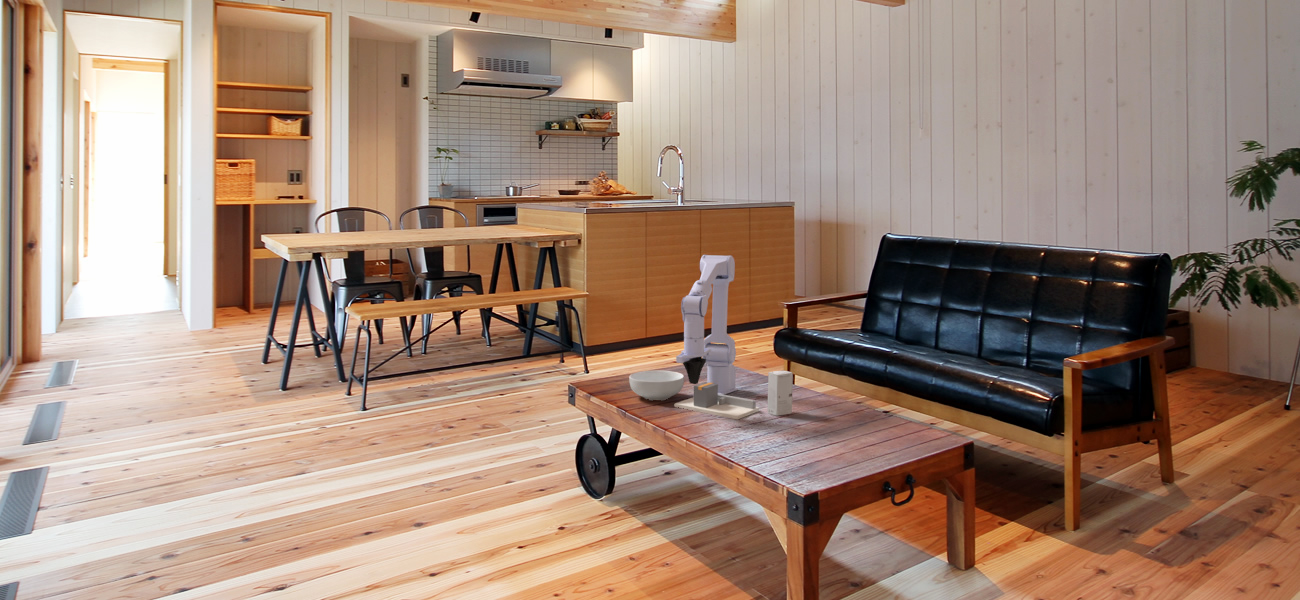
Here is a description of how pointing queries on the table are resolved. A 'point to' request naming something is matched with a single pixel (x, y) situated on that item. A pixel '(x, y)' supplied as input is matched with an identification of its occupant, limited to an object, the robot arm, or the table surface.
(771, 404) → the skincare box
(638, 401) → the table surface
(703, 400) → the block
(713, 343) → the robot arm
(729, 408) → the rail base
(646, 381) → the cereal bowl
